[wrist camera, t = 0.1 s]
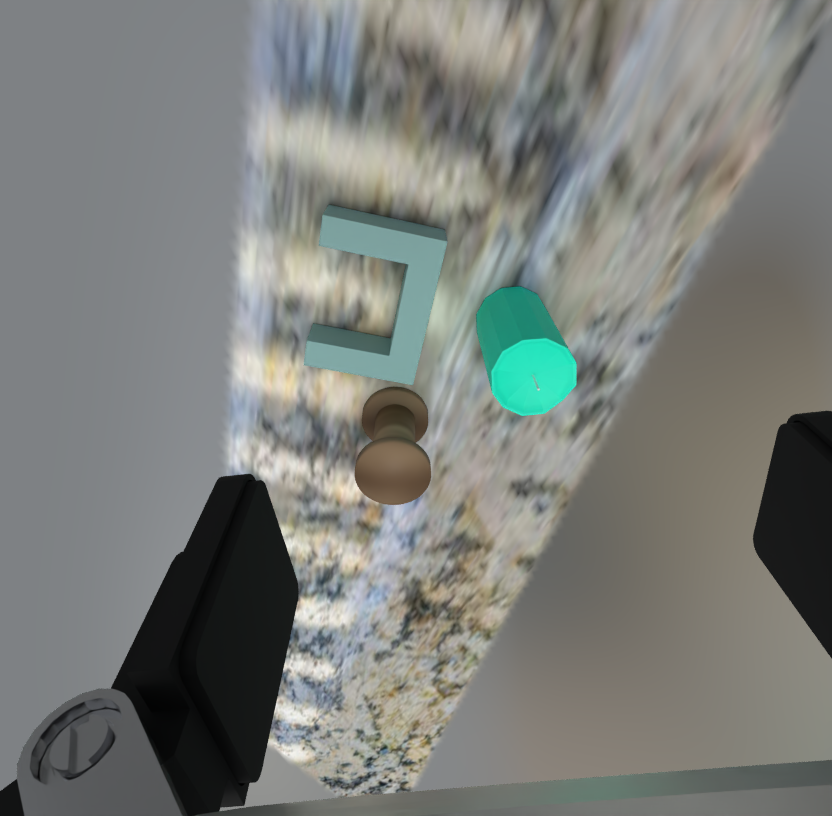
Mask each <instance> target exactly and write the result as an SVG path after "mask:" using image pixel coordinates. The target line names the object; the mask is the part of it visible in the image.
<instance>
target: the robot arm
mask: <svg viewBox="0 0 832 816" xmlns="http://www.w3.org/2000/svg"><path fill="white" fill-rule="evenodd" d="M753 542H754V547H755V550H756V553H757V554H758V556H759V558H760V559H761V560H762V562H763V563H764V565H765V566H766V567H767V569H768V570H769V572H770V573H771V574H772V576H773V577H774V579H775V580H776V581H777V583H778V584H779V586H780V587H781V588H782V590H783V591H784V592H785V594H786V595H787V597H788V598H789V600H790V601H791V602H792V604H793V605H794V607H795V608H796V609H797V611H798V612H799V614H800V615H801V616H802V618H803V619H804V620H805V622H806V623H807V625H808V626H809V627H810V629H811V630H812V632H813V633H814V634H815V636H816V637H817V639H818V640H819V641H820V643H821V644H822V646H823V647H824V648H825V650H826V651H827V653H828V654H829V655H830V657H831V658H832V411H821V412H811V413H802V414H795V415H793V416H791V417H790V418H789V419H788V421H787V423H786V424H782V425H781V426H780V427H779V429H778V433H777V437H776V441H775V445H774V449H773V454H772V458H771V462H770V466H769V471H768V475H767V479H766V484H765V488H764V492H763V496H762V501H761V505H760V509H759V513H758V518H757V522H756V526H755V530H754V535H753ZM297 602H298V582H297V578H296V575H295V572H294V569H293V566H292V563H291V560H290V557H289V554H288V551H287V548H286V545H285V542H284V539H283V536H282V533H281V530H280V527H279V524H278V521H277V518H276V515H275V512H274V509H273V506H272V503H271V500H270V497H269V494H268V491H267V488H266V485H265V483H264V482H263V481H262V480H259V481H256V480H255V478H254V477H253V475H251V474H243V475H233V476H224V477H220V478H219V479H218V480H217V482H216V484H215V486H214V488H213V490H212V492H211V494H210V496H209V499H208V501H207V503H206V505H205V507H204V509H203V511H202V514H201V515H200V518H199V520H198V522H197V524H196V526H195V528H194V530H193V532H192V535H191V537H190V539H189V541H188V543H187V545H186V548H185V549H184V552H181V553H180V554H178V555H176V557H175V559H174V560H173V562H172V563H171V565H170V568H169V569H168V572H167V574H166V576H165V578H164V580H163V582H162V584H161V586H160V588H159V590H158V592H157V594H156V596H155V598H154V600H153V603H152V605H151V607H150V609H149V611H148V613H147V615H146V617H145V619H144V621H143V623H142V625H141V627H140V629H139V631H138V634H137V636H136V638H135V640H134V642H133V644H132V646H131V648H130V650H129V652H128V654H127V656H126V658H125V661H124V663H123V664H122V667H121V669H120V671H119V673H118V675H117V677H116V679H115V681H114V683H113V685H112V687H111V689H96V690H93V691H89V692H85V693H82V694H80V695H78V696H76V697H74V698H72V699H71V700H69V701H67V702H65V703H64V704H62V705H61V706H60V707H58V708H57V709H56V710H54V711H53V712H52V713H50V714H49V715H48V716H47V717H46V718H45V719H44V720H43V721H42V723H41V724H40V725H39V726H38V727H37V728H36V729H35V730H34V732H33V733H32V735H31V736H30V738H29V739H28V741H27V742H26V744H25V745H24V747H23V750H22V752H21V755H20V758H19V761H18V763H17V779H16V780H15V781H13V782H12V783H11V784H9V785H8V786H7V787H5V788H4V789H3V790H1V791H0V816H832V760H826V761H812V762H798V763H783V764H768V765H755V766H754V765H753V766H741V767H740V766H739V767H726V768H713V769H699V770H685V771H672V772H658V773H645V774H632V775H619V776H606V777H592V778H580V779H566V780H553V781H540V782H526V783H515V784H501V785H490V786H477V787H465V788H453V789H440V790H427V791H415V792H402V793H390V794H378V795H365V796H354V797H343V798H333V799H323V800H313V801H304V802H293V803H283V804H273V805H263V806H254V807H246V808H239V809H233V810H227V811H220V812H219V810H220V807H233V806H244V804H245V799H246V796H247V791H248V787H249V783H252V782H256V781H258V779H259V777H260V775H261V771H262V767H263V762H264V757H265V752H266V748H267V743H268V739H269V734H270V729H271V724H272V720H273V715H274V710H275V706H276V701H277V696H278V691H279V687H280V682H281V677H282V673H283V668H284V663H285V658H286V654H287V649H288V644H289V640H290V635H291V630H292V625H293V621H294V616H295V611H296V607H297Z"/></svg>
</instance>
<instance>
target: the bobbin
mask: <svg viewBox="0 0 832 816" xmlns="http://www.w3.org/2000/svg"><path fill="white" fill-rule="evenodd" d="M362 425H363V428H364V431H365V433H366V434H367V436H368V437H369V438H370V439H371V440H372V441H373V442H371V443H369V444H368V445H366V446H365V447H364V448H363V449H362V451H361V452H360V453H359V455H358V458H357V461H356V467H355V480H356V483H357V485H358V487H359V489H360V490H361V491H362V492H363V494H365V495H366V496H367V497H368V498H370V499H372V500H374V501H376V502H379V503H382V504H388V505H399V504H404V503H408V502H411V501H413V500H415V499H417V498H418V497H419V496H421V495H422V494H423V493H424V492H425V490H426V489H427V487H428V485H429V483H430V480H431V466H430V460H429V457H428V455H427V454H426V452H425V451H424V450H423V449H422V448H421V447H420V446H419V445H418V444H416V442H417V441H419V440H420V439H421V438H422V436H423V435H424V434H425V432H426V430H427V426H428V411H427V407H426V405H425V403H424V401H423V400H422V399H421V398H420V397H419V396H418V395H417V394H416V393H414V392H413V391H411V390H408V389H405V388H400V387H389V388H385V389H382V390H379V391H377V392H376V393H374V394H373V395H372V396H371V397H370V398H369V399H368V400H367V402H366V404H365V406H364V409H363V415H362Z"/></svg>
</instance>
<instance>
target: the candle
mask: <svg viewBox="0 0 832 816" xmlns="http://www.w3.org/2000/svg"><path fill="white" fill-rule="evenodd" d="M476 322H477V334H478V338H479V342H480V346H481V350H482V354H483V358H484V362H485V366H486V370H487V374H488V378H489V382H490V386H491V390H492V393H493V395H494V396H495V397H496V399H497V400H498V401H499V402H500V404H501V405H502V406H503V408H505V409H508V410H510V411H512V412H515V413H517V414H519V415H522V416H526V415H536V414H545V413H546V412H547V411H549V410H550V409H551V408H553V407H554V406H556V405H557V404H558V403H560V402H561V401H562V400H563V399H564V398H565V397H566V396H567V395H568V394H569V393H570V391H571V390H572V389H573V388H574V387H575V386H576V364H577V363H576V361H575V359H574V358H573V356H572V354H571V352H570V351H569V349H568V347H567V345H566V343H565V342H564V340H563V338H562V336H561V335H560V333H559V331H558V329H557V327H556V326H555V324H554V322H553V320H552V319H551V317H550V315H549V313H548V311H547V310H546V308H545V306H544V305H543V303H542V301H541V300H540V298H539V297H538V295H537V294H536V293H534V292H532V291H530V290H527V289H525V288H523V287H521V286H518V287H506V288H500V289H499V290H497V291H496V292H494V293H493V294H491V295H490V296H488V297H487V298H485V300H484V301H483V303H482V305H481V307H480V309H479V310H478V312H477V314H476Z"/></svg>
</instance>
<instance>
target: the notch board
mask: <svg viewBox="0 0 832 816" xmlns="http://www.w3.org/2000/svg"><path fill="white" fill-rule="evenodd" d="M446 245H447V237H446V233H445V230H444V229H439V228H435V227H430V226H425V225H421V224H416V223H412V222H407V221H402V220H398V219H393V218H389V217H384V216H379V215H375V214H370V213H365V212H361V211H356V210H352V209H347V208H342V207H338V206H333V205H328V207H327V208H326V210H325V212H324V214H323V217H322V225H321V232H320V240H319V246H323V247H328V248H332V249H337V250H342V251H347V252H352V253H356V254H361V255H366V256H371V257H376V258H380V259H385V260H390V261H395V262H400V263H404V264H406V266H405V271H404V276H403V281H402V285H401V290H400V295H399V300H398V305H397V310H396V314H395V319H394V324H393V329H392V334H391V338H387V337H381V336H376V335H371V334H366V333H361V332H355V331H350V330H345V329H340V328H335V327H329V326H324V325H319V324H314V323H313V326H312V328H311V331H310V334H309V336H308V339H307V343H306V351H305V359H304V365H306V366H312V367H317V368H322V369H328V370H333V371H339V372H344V373H350V374H355V375H360V376H366V377H371V378H377V379H382V380H388V381H393V382H399V383H404V384H409V385H413V383H414V379H415V374H416V370H417V366H418V362H419V358H420V354H421V349H422V345H423V341H424V337H425V333H426V329H427V324H428V320H429V316H430V312H431V308H432V304H433V299H434V295H435V291H436V287H437V283H438V279H439V274H440V270H441V266H442V262H443V258H444V254H445V250H446Z"/></svg>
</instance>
